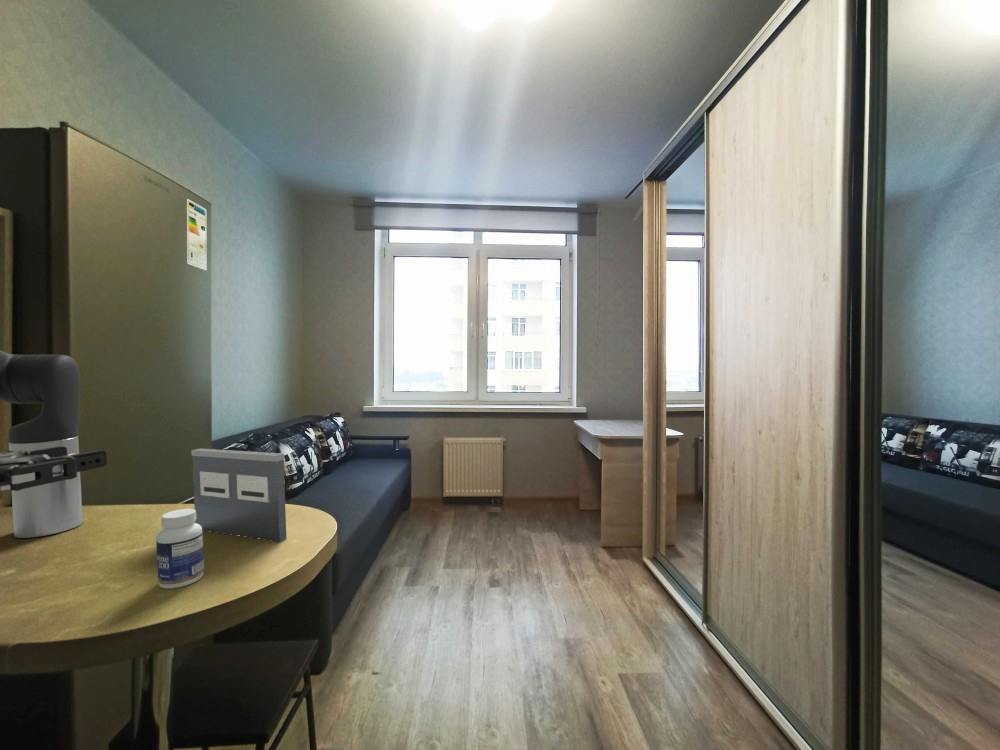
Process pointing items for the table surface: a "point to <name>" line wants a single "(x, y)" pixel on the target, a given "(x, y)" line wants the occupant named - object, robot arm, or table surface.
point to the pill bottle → (179, 549)
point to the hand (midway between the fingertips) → (84, 455)
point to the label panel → (240, 493)
